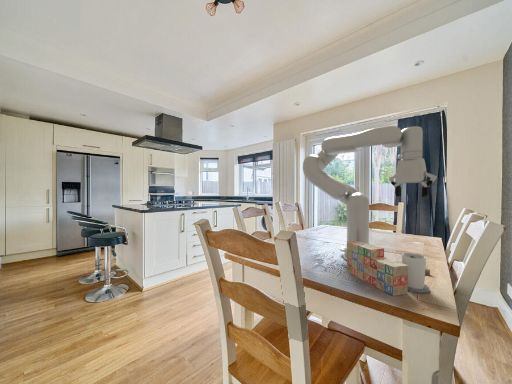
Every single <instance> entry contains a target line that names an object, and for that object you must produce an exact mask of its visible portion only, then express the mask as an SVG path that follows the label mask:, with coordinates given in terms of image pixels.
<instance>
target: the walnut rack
mask: <svg viewBox="0 0 512 384" xmlns="http://www.w3.org/2000/svg"><path fill="white" fill-rule="evenodd" d="M397 261H398V260H397ZM398 262H399V261H398ZM400 263H402V261H400ZM429 275H431V269H430V268H426V267H425V276H429Z"/></svg>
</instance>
